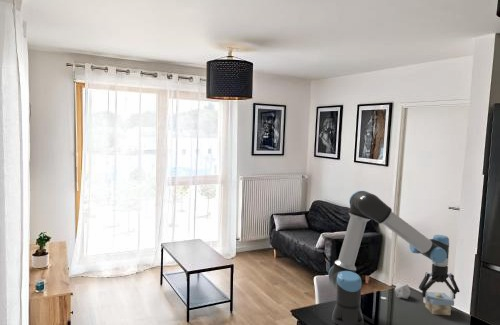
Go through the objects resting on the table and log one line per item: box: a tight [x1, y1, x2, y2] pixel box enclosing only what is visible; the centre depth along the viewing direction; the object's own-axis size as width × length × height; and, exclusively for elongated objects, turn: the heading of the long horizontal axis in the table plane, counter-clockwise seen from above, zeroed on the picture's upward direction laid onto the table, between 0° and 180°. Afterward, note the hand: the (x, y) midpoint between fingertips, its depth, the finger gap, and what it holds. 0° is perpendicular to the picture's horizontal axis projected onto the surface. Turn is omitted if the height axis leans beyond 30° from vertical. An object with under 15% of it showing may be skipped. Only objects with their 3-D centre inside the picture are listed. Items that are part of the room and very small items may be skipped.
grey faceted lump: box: [394, 282, 412, 300], centre depth 211 cm, size 8×9×10 cm
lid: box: [427, 291, 455, 307], centre depth 194 cm, size 11×11×4 cm
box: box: [425, 300, 452, 316], centre depth 194 cm, size 9×9×6 cm
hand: (438, 303), depth 194 cm, fingers open, 13 cm apart
